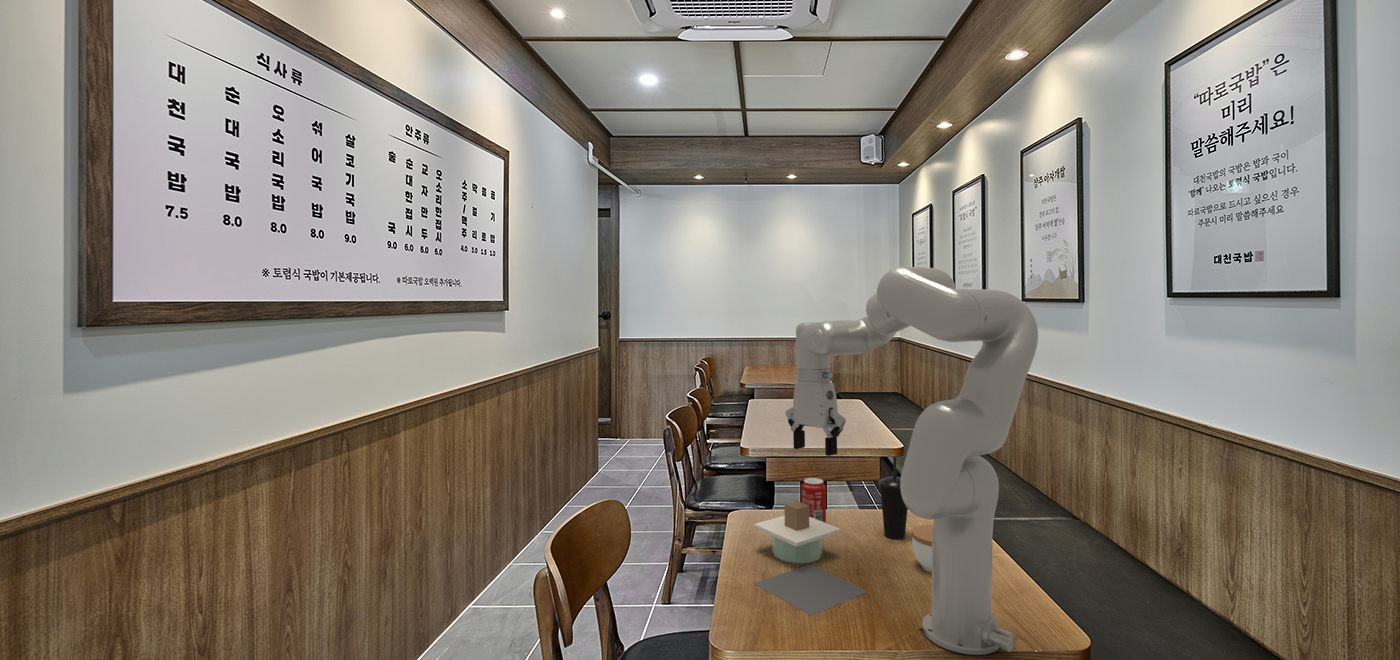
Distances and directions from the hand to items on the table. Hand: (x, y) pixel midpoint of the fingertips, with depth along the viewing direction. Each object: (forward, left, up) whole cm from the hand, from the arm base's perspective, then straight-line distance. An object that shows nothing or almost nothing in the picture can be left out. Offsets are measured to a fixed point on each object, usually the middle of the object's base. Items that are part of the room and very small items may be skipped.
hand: (814, 451), depth 135 cm
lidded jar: (-20, -17, -25) cm, 36 cm away
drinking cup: (-3, -25, -25) cm, 36 cm away
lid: (+3, +3, -19) cm, 19 cm away
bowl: (+3, +3, -25) cm, 25 cm away
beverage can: (+14, -14, -25) cm, 32 cm away
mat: (-11, +13, -25) cm, 30 cm away
